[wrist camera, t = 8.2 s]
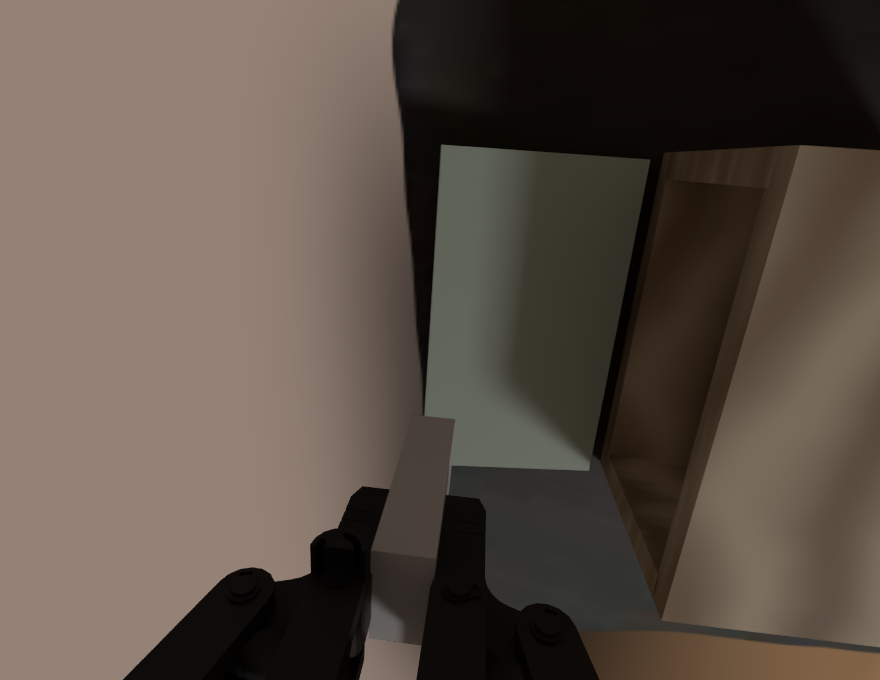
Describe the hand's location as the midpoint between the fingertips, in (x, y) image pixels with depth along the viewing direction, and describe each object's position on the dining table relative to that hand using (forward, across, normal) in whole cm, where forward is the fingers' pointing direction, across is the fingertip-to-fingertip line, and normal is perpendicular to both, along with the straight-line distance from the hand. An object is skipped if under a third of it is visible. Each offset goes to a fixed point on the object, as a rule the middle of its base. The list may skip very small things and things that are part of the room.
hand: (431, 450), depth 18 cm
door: (+17, -10, 0) cm, 20 cm away
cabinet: (+18, -18, 0) cm, 26 cm away
